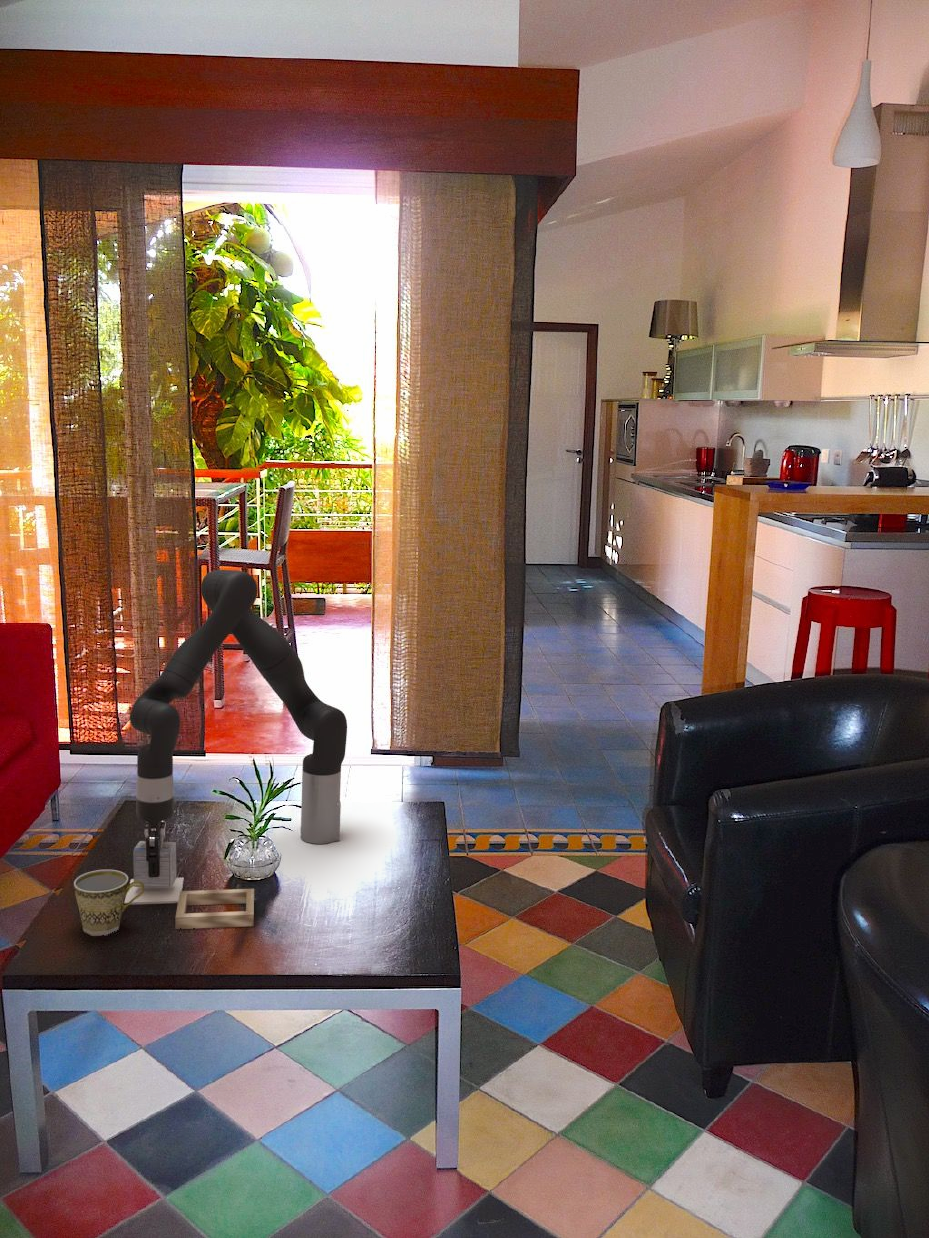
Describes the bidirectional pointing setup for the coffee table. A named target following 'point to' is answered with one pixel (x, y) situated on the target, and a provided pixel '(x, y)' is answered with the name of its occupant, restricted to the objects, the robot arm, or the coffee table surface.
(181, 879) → the pad
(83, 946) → the coffee table surface
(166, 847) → the medicine box
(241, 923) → the rectangular wooden frame
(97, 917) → the ceramic cup
